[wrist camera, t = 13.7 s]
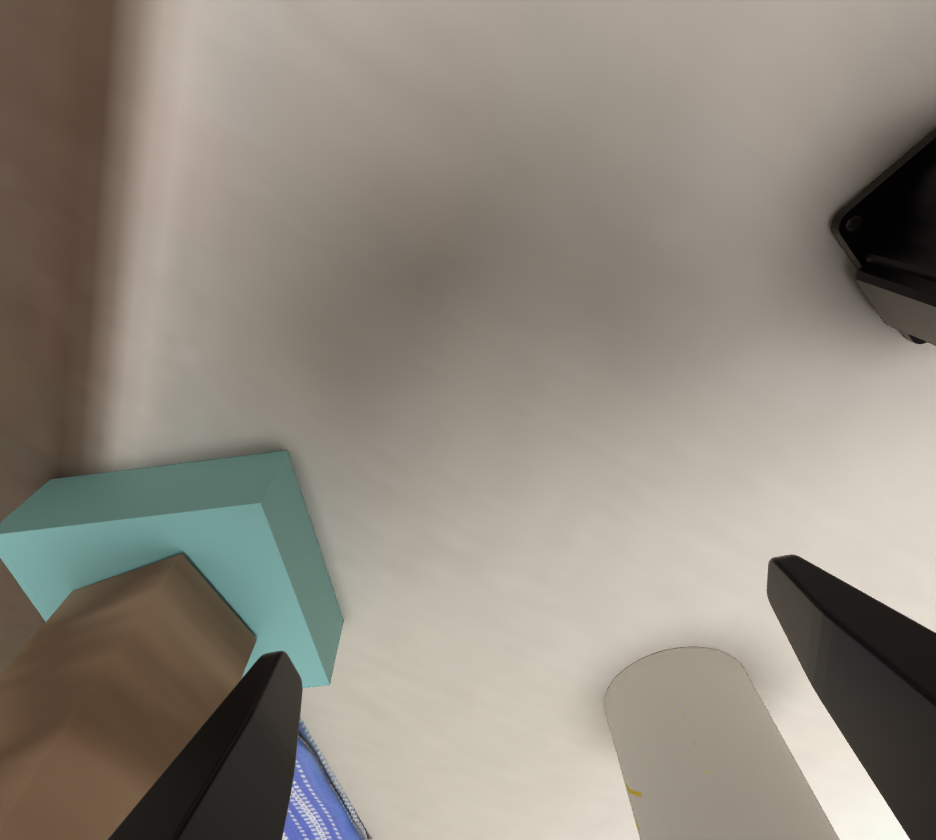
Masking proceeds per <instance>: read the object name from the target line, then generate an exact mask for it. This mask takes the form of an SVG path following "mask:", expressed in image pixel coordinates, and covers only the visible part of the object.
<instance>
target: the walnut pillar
mask: <svg viewBox="0 0 936 840" xmlns="http://www.w3.org/2000/svg"><path fill="white" fill-rule="evenodd" d="M256 641H257V639H256V638H255V636H254V635H253V634H252V633H251V632H250V631H249V630H248V628H247V627H246V626H245V625H244V624H243V623H242V622H241V620H240V619H239V618H238V617H237V616H236V615H235V614H234V612H233V611H232V610H231V609H230V608H229V607H228V606H227V604H226V603H225V602H224V601H223V600H222V599H221V598H220V596H219V595H218V594H217V593H216V592H215V591H214V590H213V588H212V587H211V586H210V585H209V584H208V583H207V582H206V580H205V579H204V578H203V577H202V576H201V575H200V574H199V572H198V571H197V570H196V569H195V568H194V567H193V566H192V564H191V563H190V562H189V561H188V560H187V559H186V558H185V556H184V555H183V554H179V555H176V556H173V557H170V558H167V559H164V560H161V561H158V562H156V563H153V564H150V565H147V566H144V567H141V568H138V569H135V570H132V571H129V572H126V573H123V574H120V575H117V576H114V577H111V578H109V579H106V580H103V581H100V582H97V583H94V584H91V585H88V586H85V587H82V588H79V589H76V590H73V591H72V592H71V593H70V594H69V595H68V596H67V598H66V599H65V600H64V601H63V602H62V604H61V605H60V606H59V607H58V608H57V609H56V611H55V612H54V613H53V614H52V615H51V617H50V618H49V619H48V620H47V621H46V623H45V624H44V625H43V626H42V627H41V628H40V630H39V631H38V632H37V633H36V634H35V636H34V637H33V638H32V639H31V640H30V641H29V643H28V644H27V645H26V646H25V647H24V649H23V650H22V651H21V652H20V653H19V654H18V656H17V657H16V658H15V659H14V660H13V662H12V663H11V664H10V665H9V666H8V667H7V669H6V670H5V671H4V672H3V673H2V675H1V676H0V840H107V839H108V838H109V837H110V836H111V834H112V833H113V832H114V831H115V830H116V829H117V827H118V826H119V825H120V824H121V823H122V821H123V820H124V819H125V818H126V817H127V815H128V814H129V813H130V812H131V811H132V809H133V808H134V807H135V806H136V805H137V803H138V802H139V801H140V800H141V799H142V797H143V796H144V795H145V794H146V793H147V791H148V790H149V789H150V788H151V787H152V785H153V784H154V783H155V782H156V781H157V779H158V778H159V777H160V776H161V775H162V773H163V772H164V771H165V770H166V769H167V767H168V766H169V765H170V764H171V763H172V761H173V760H174V759H175V758H176V757H177V755H178V754H179V753H180V752H181V751H182V749H183V748H184V747H185V746H186V745H187V743H188V742H189V741H190V740H191V739H192V737H193V736H194V735H195V734H196V733H197V731H198V730H199V729H200V728H201V727H202V725H203V724H204V723H205V722H206V721H207V719H208V718H209V717H210V716H211V715H212V713H213V712H214V711H215V710H216V709H217V707H218V706H219V705H220V704H221V703H222V702H223V700H224V699H225V698H226V697H227V696H228V694H229V693H230V692H231V691H232V690H233V688H234V687H235V686H236V685H237V684H238V682H239V681H240V680H241V678H242V676H243V673H244V671H245V668H246V666H247V663H248V661H249V658H250V656H251V653H252V651H253V648H254V646H255V643H256Z"/></svg>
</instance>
